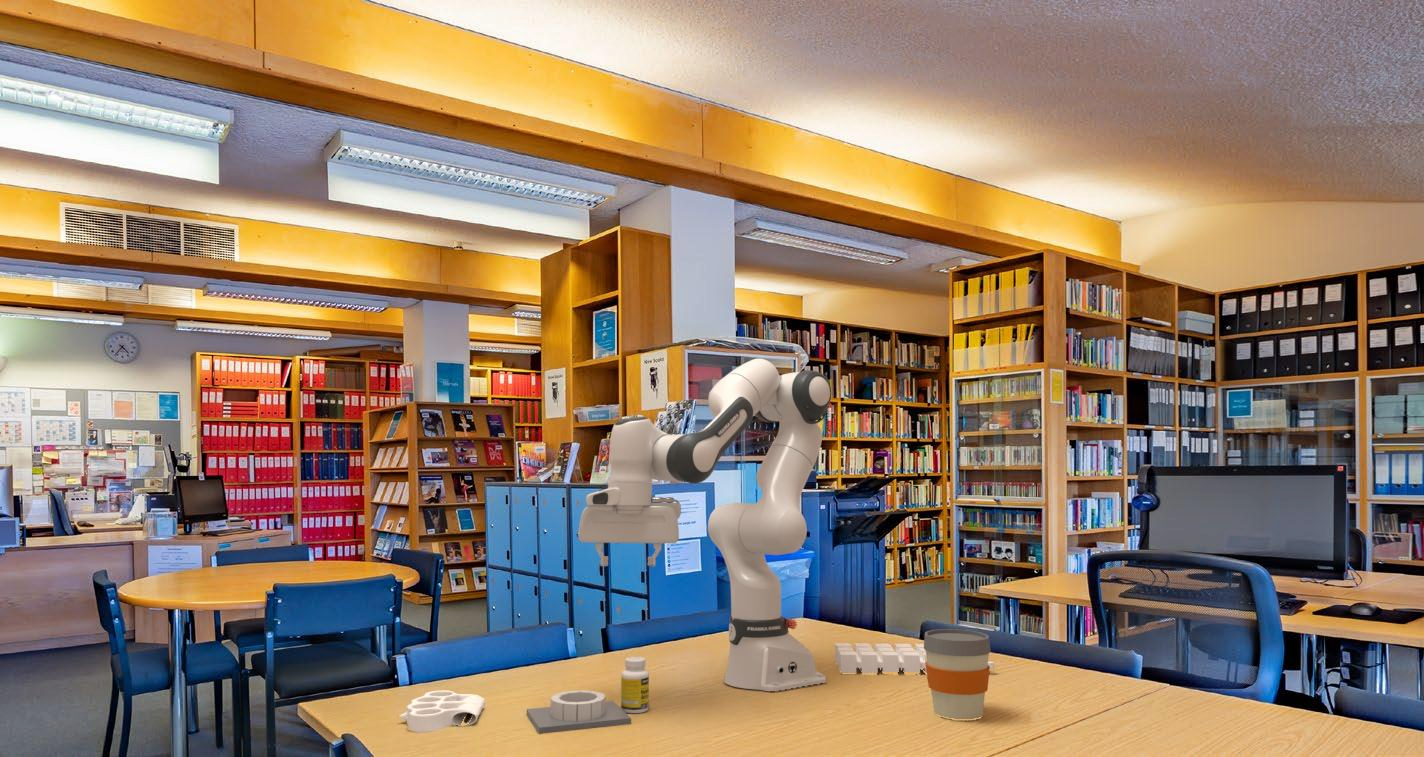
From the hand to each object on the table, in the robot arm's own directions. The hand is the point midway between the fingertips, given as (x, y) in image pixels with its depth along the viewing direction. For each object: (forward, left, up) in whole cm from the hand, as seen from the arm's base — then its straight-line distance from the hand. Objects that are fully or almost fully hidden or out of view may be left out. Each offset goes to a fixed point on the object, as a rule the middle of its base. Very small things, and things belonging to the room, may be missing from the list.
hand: (627, 566), depth 181 cm
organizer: (-72, -8, -28) cm, 78 cm away
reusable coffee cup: (-58, +28, -28) cm, 70 cm away
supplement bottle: (-1, +3, -28) cm, 28 cm away
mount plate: (+11, +5, -27) cm, 30 cm away
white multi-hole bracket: (+35, -5, -28) cm, 45 cm away
